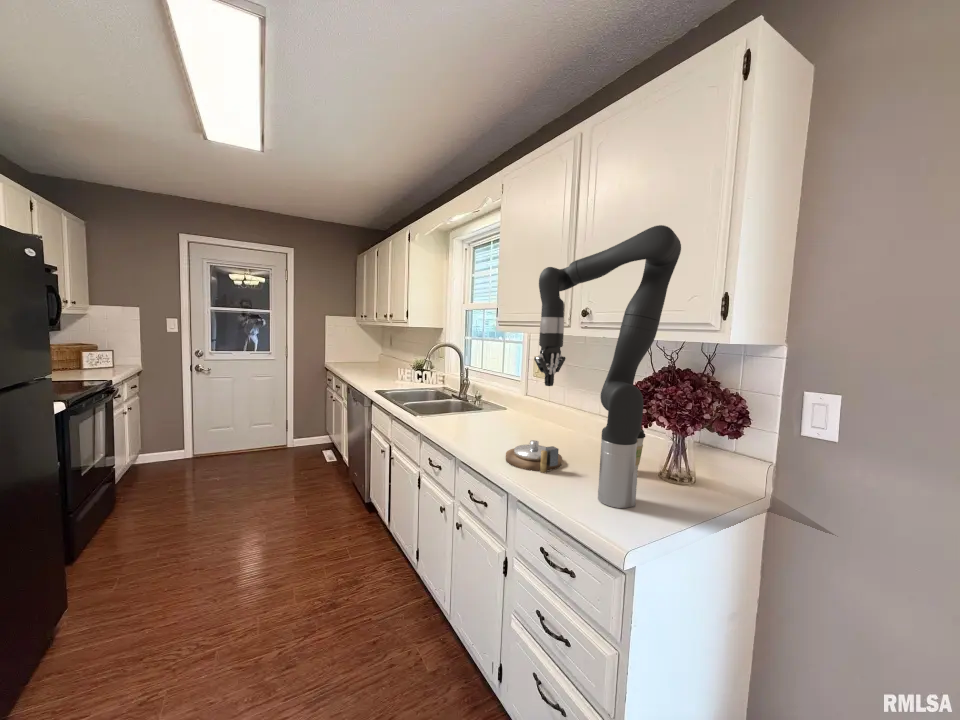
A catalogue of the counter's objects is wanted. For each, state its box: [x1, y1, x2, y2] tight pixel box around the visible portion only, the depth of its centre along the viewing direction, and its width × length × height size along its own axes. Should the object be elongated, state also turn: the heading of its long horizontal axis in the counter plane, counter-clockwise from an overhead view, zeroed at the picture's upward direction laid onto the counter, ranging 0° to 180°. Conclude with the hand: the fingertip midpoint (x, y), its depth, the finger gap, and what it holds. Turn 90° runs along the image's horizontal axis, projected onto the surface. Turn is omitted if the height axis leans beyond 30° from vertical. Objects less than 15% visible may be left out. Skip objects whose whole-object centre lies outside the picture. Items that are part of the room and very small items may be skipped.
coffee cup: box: [635, 429, 646, 472], centre depth 132 cm, size 10×10×15 cm
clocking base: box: [505, 447, 563, 474], centre depth 139 cm, size 20×22×7 cm
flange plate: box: [513, 439, 560, 466], centre depth 138 cm, size 20×14×6 cm
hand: (548, 385), depth 126 cm, fingers closed
